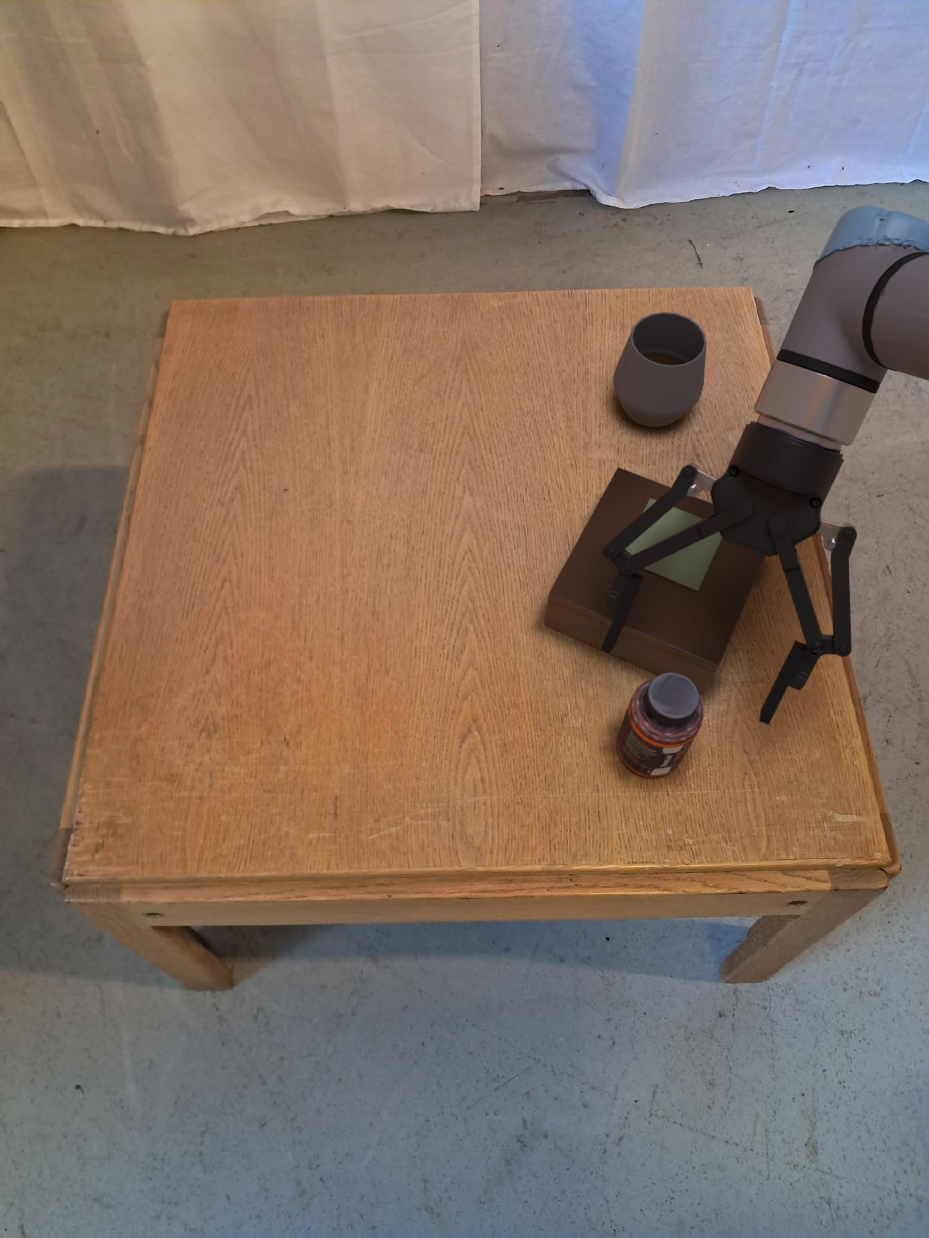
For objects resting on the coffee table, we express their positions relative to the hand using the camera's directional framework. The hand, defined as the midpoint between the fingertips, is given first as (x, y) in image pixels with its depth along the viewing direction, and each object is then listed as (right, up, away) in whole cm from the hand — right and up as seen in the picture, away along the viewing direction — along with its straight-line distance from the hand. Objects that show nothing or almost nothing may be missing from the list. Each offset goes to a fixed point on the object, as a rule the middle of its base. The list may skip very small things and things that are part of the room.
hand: (684, 682), depth 74 cm
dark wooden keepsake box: (0, +8, +14) cm, 16 cm away
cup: (+3, +28, +26) cm, 38 cm away
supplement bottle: (-2, -6, +7) cm, 9 cm away
